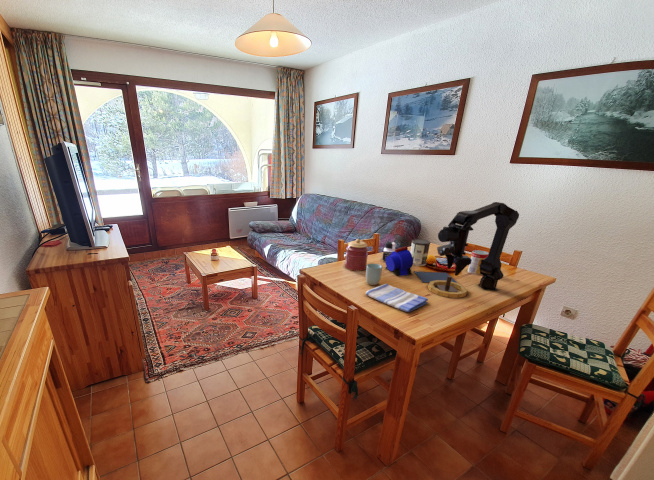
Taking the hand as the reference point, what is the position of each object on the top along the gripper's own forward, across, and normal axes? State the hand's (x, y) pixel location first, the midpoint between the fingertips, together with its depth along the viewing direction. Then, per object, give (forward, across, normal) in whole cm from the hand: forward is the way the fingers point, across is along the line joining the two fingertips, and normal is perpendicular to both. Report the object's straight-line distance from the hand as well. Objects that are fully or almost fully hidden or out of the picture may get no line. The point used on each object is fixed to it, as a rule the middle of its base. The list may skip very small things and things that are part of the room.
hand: (452, 272), depth 147 cm
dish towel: (+12, +10, -26) cm, 31 cm away
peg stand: (+12, -4, +1) cm, 12 cm away
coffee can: (+12, -45, -2) cm, 47 cm away
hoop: (+12, -4, +1) cm, 12 cm away
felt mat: (+12, -22, +1) cm, 24 cm away
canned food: (+12, -34, +27) cm, 45 cm away
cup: (+12, -8, -35) cm, 38 cm away
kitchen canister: (+12, -33, -41) cm, 54 cm away
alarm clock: (+12, -28, -18) cm, 35 cm away
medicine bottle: (+12, -48, -19) cm, 53 cm away
